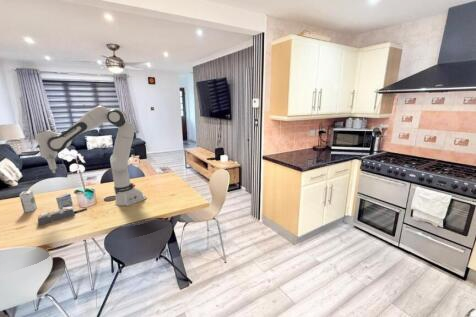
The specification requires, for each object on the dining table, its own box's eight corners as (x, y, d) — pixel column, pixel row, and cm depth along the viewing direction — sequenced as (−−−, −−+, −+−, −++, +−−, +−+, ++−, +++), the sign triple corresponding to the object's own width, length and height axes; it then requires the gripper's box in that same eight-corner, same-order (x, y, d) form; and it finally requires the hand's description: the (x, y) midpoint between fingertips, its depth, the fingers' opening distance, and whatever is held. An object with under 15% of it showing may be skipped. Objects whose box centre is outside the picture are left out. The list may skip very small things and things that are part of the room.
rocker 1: (48, 213, 151) (47, 211, 150) (48, 215, 148) (47, 213, 148) (39, 217, 148) (37, 215, 147) (39, 219, 145) (37, 217, 145)
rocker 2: (60, 210, 155) (59, 208, 154) (61, 212, 152) (59, 210, 152) (51, 214, 152) (50, 212, 151) (52, 216, 150) (50, 214, 149)
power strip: (85, 207, 168) (84, 202, 167) (87, 211, 163) (86, 206, 162) (38, 220, 151) (37, 215, 150) (39, 225, 145) (37, 219, 144)
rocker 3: (71, 208, 159) (71, 206, 159) (72, 210, 157) (72, 208, 157) (62, 209, 156) (62, 207, 156) (63, 211, 153) (63, 209, 153)
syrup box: (27, 209, 167) (22, 191, 163) (37, 207, 169) (32, 190, 165) (23, 212, 162) (18, 194, 158) (34, 211, 164) (29, 192, 160)
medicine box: (62, 208, 167) (59, 198, 165) (58, 207, 169) (55, 197, 166) (72, 204, 174) (70, 194, 172) (69, 203, 176) (66, 193, 173)
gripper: (56, 155, 149) (61, 175, 153) (54, 150, 164) (58, 168, 167) (44, 157, 145) (49, 177, 148) (42, 152, 159) (47, 170, 163)
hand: (54, 172), depth 158 cm, fingers closed
